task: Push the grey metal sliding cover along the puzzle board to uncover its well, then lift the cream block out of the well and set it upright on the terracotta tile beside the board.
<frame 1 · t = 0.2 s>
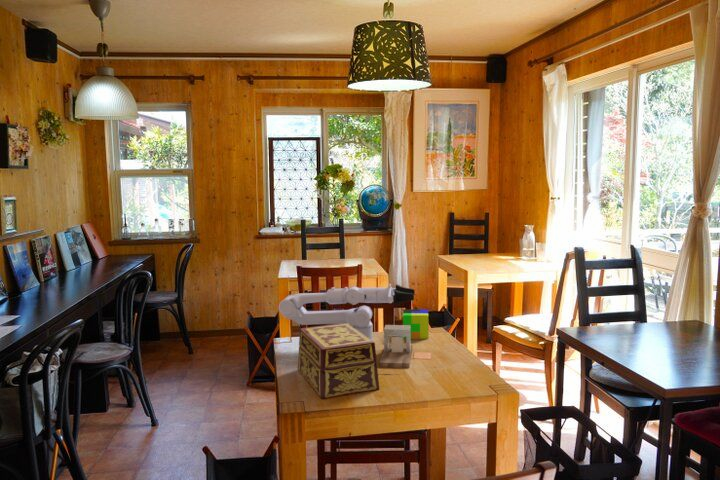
hand: (414, 294, 205), 21 cm above the table, tool horizontal, fingers open, 7 cm apart
sliding cover: (397, 350, 201), point 2 cm above the table, slide at 0.0 cm
puzzle toy: (415, 336, 225), on the table
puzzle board: (396, 359, 198), on the table
terracotta tile: (422, 357, 199), on the table
cream block: (397, 354, 201), resting on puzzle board
decorative box: (336, 380, 179), on the table
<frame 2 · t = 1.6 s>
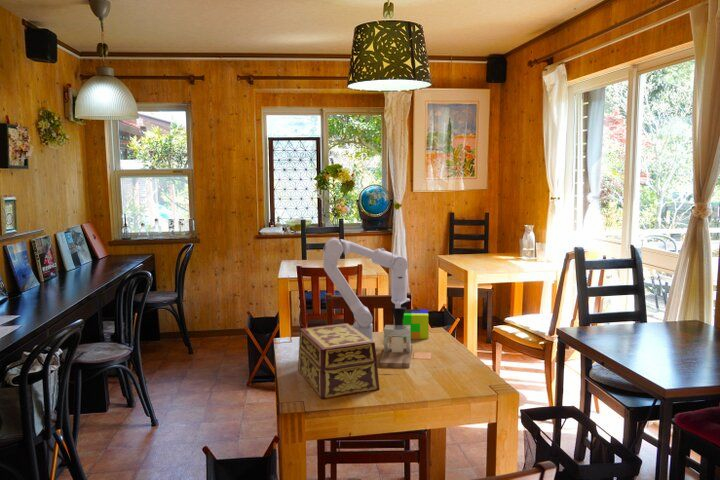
hand: (399, 322, 211), 9 cm above the table, tool pointing down, fingers open, 7 cm apart
nothing on the table moved.
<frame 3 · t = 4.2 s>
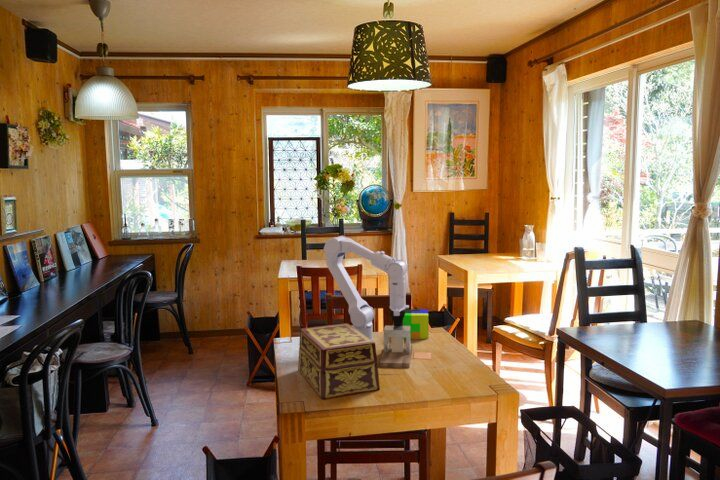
hand: (398, 330, 204), 8 cm above the table, tool pointing down, fingers closed
sliding cover: (397, 350, 200), point 2 cm above the table, slide at 0.9 cm, touching gripper
everything else where it was.
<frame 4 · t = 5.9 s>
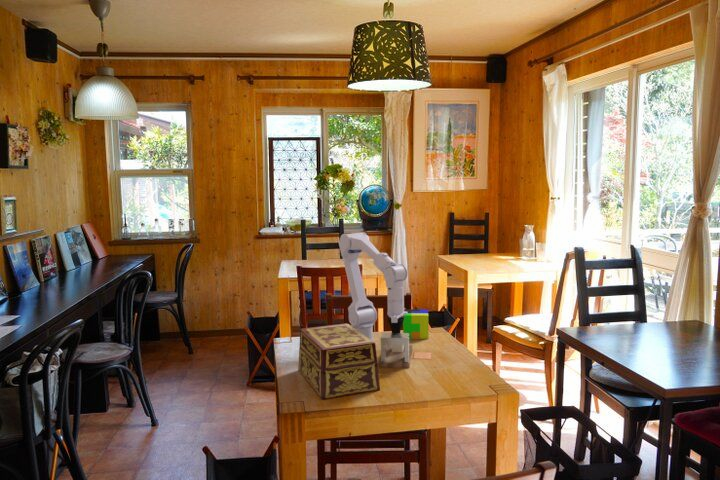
hand: (396, 337, 195), 8 cm above the table, tool pointing down, fingers closed
sliding cover: (395, 359, 191), point 2 cm above the table, slide at 10.2 cm, touching gripper
everything else where it was.
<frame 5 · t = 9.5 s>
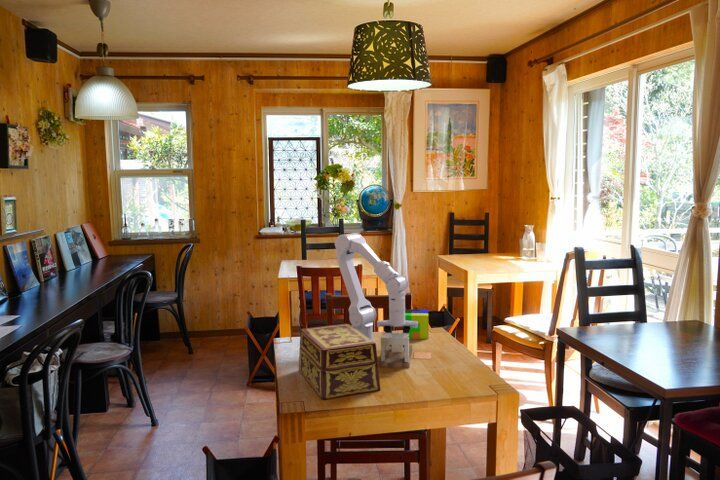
hand: (397, 346, 201), 3 cm above the table, tool pointing down, fingers closed on cream block, 4 cm apart
sliding cover: (395, 359, 191), point 2 cm above the table, slide at 10.2 cm
cream block: (397, 354, 201), resting on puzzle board, touching gripper
everything else where it was.
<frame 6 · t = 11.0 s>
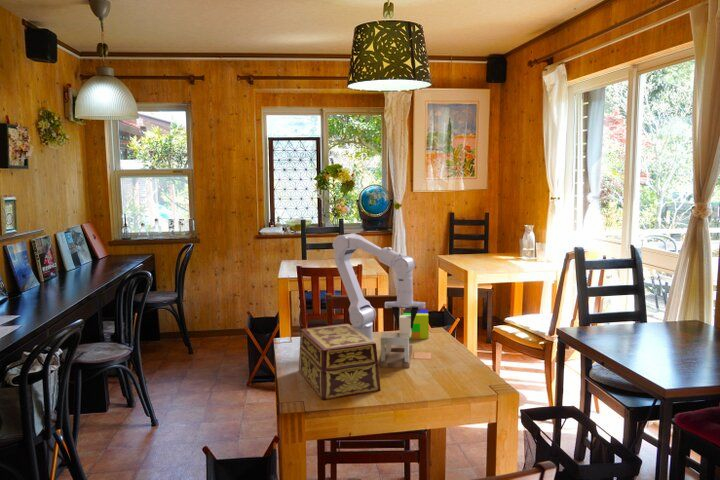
hand: (405, 327, 199), 11 cm above the table, tool pointing down, fingers closed on cream block, 4 cm apart
cream block: (405, 335, 200), point 8 cm above the table, touching gripper
everything else where it was.
when the fingers open (5 cm above the table, at t = 12.7 s): cream block drops 2 cm, resting on terracotta tile.
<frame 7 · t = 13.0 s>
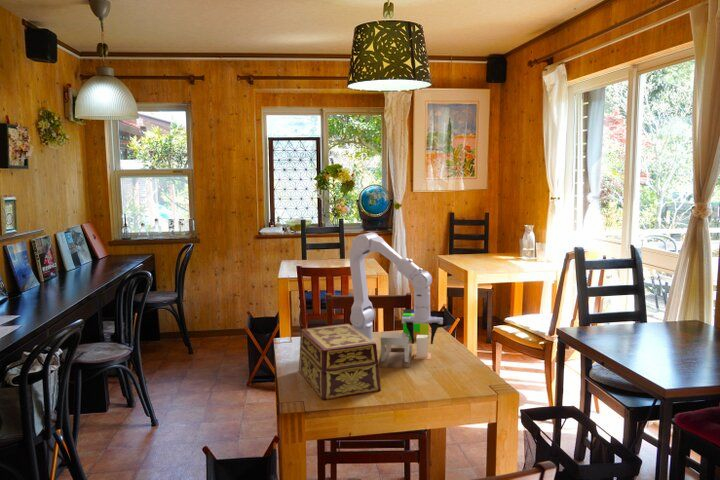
hand: (422, 342, 199), 5 cm above the table, tool pointing down, fingers open, 6 cm apart
cream block: (422, 355, 199), point 1 cm above the table, touching terracotta tile
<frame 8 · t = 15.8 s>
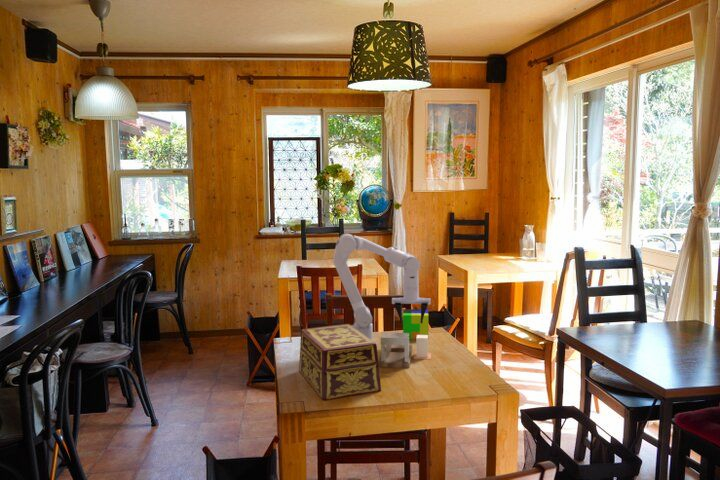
hand: (411, 322, 211), 9 cm above the table, tool pointing down, fingers open, 7 cm apart
at the end: sliding cover slide at 10.2 cm; cream block 0.1 cm off-centre on the terracotta tile, point 0.6 cm above the terracotta tile's base; cream block tilted 0° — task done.
